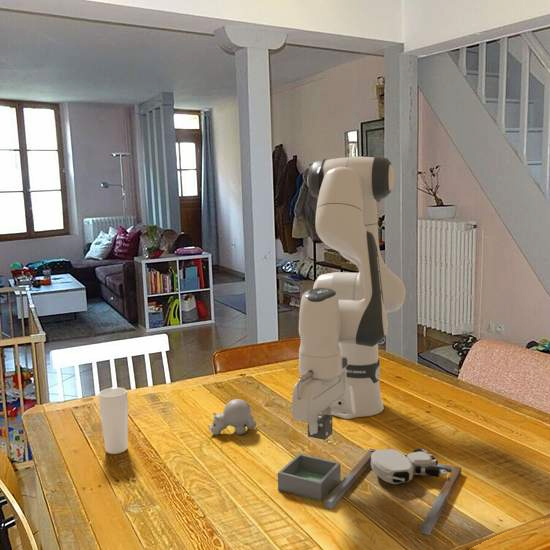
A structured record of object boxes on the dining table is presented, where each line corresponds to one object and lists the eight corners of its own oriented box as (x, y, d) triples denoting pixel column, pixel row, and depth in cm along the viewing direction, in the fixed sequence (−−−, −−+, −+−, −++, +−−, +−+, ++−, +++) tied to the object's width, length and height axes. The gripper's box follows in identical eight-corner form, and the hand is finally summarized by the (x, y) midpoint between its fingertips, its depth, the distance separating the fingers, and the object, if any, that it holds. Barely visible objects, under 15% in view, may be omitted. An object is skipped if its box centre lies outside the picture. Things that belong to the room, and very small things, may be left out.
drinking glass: (136, 446, 150) (132, 388, 147) (120, 457, 143) (116, 398, 141) (112, 442, 152) (108, 386, 150) (96, 454, 146) (92, 395, 143)
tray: (278, 490, 127) (277, 472, 126) (299, 470, 135) (299, 453, 134) (321, 501, 122) (320, 483, 121) (340, 480, 130) (340, 462, 130)
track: (324, 507, 120) (324, 500, 119) (372, 452, 143) (372, 446, 143) (429, 535, 109) (429, 527, 109) (462, 471, 133) (462, 464, 133)
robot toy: (424, 460, 139) (362, 465, 136) (425, 441, 138) (363, 446, 135) (449, 487, 127) (383, 494, 124) (451, 468, 126) (384, 474, 123)
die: (307, 436, 128) (307, 418, 128) (315, 430, 132) (315, 412, 131) (325, 440, 126) (325, 421, 126) (332, 433, 130) (332, 415, 129)
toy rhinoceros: (214, 438, 160) (201, 410, 158) (255, 417, 161) (242, 390, 159) (217, 449, 153) (203, 420, 151) (259, 427, 154) (246, 399, 152)
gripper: (311, 380, 117) (312, 448, 118) (351, 356, 134) (351, 415, 136) (283, 376, 120) (284, 442, 121) (325, 353, 137) (325, 411, 139)
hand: (319, 428), depth 129 cm, fingers closed on die, 4 cm apart
